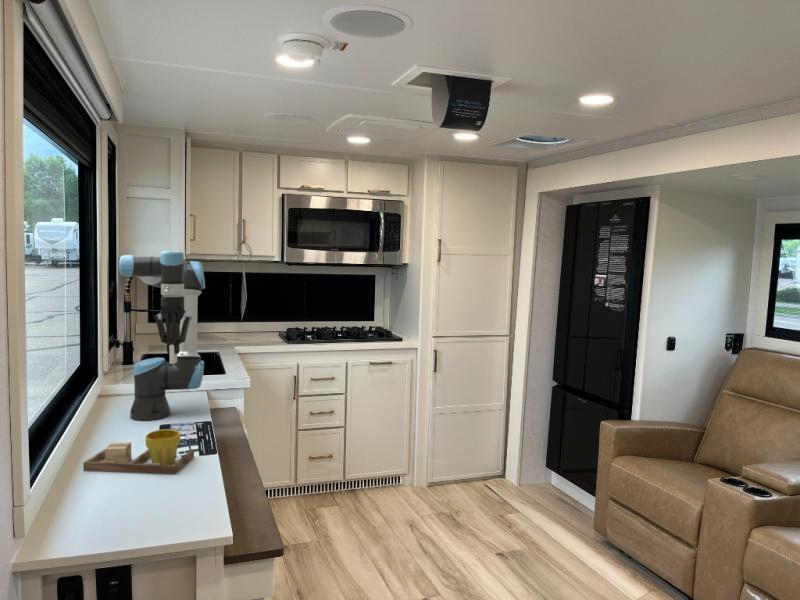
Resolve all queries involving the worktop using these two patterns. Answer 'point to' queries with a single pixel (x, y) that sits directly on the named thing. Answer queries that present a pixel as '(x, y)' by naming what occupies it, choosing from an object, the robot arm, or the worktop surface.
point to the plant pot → (163, 445)
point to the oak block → (118, 452)
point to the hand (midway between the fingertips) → (173, 362)
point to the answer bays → (135, 464)
